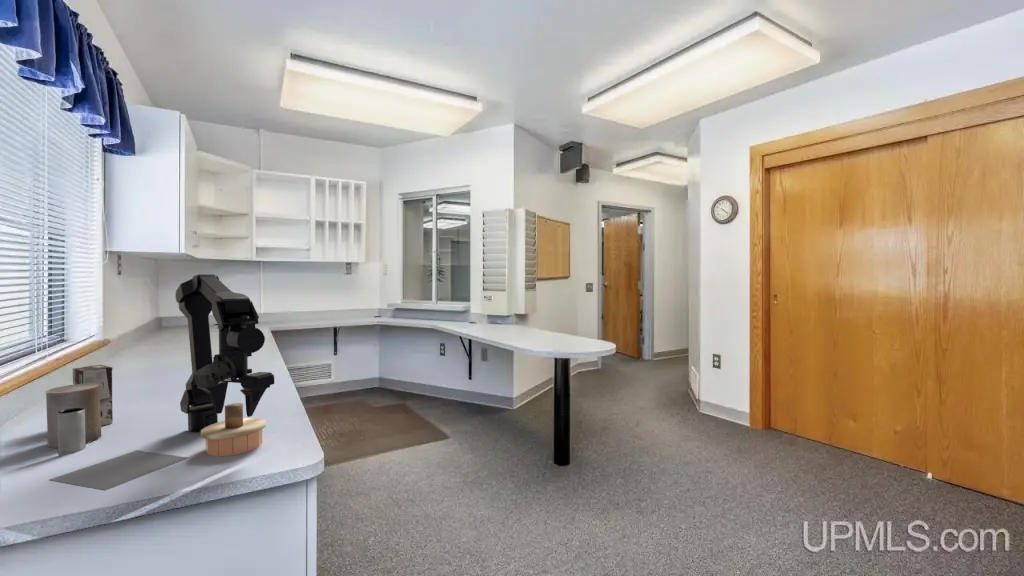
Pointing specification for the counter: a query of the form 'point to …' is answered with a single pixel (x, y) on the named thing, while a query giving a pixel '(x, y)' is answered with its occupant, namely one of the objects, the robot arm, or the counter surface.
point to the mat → (118, 470)
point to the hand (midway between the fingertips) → (234, 414)
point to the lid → (233, 424)
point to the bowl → (233, 444)
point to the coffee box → (104, 379)
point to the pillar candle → (74, 398)
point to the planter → (71, 430)
